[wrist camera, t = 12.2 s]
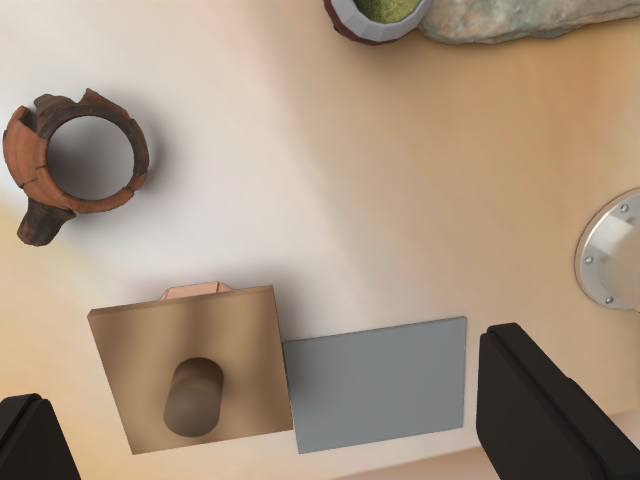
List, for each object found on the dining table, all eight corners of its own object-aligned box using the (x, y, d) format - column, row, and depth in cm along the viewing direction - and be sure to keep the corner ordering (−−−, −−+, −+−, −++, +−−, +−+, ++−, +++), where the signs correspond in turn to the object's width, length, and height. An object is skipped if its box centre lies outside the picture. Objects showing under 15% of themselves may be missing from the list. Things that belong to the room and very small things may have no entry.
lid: (272, 284, 37) (274, 321, 33) (292, 421, 43) (296, 470, 38) (91, 309, 36) (64, 351, 32) (135, 445, 42) (118, 499, 37)
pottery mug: (20, 63, 35) (39, 64, 28) (144, 116, 41) (181, 126, 35) (-34, 216, 35) (-27, 250, 29) (96, 246, 42) (125, 278, 35)
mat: (464, 316, 47) (465, 318, 46) (461, 425, 52) (462, 427, 52) (282, 342, 46) (282, 345, 45) (298, 451, 51) (298, 454, 51)
